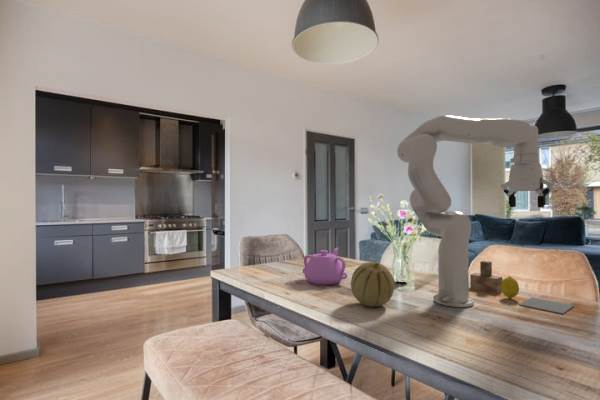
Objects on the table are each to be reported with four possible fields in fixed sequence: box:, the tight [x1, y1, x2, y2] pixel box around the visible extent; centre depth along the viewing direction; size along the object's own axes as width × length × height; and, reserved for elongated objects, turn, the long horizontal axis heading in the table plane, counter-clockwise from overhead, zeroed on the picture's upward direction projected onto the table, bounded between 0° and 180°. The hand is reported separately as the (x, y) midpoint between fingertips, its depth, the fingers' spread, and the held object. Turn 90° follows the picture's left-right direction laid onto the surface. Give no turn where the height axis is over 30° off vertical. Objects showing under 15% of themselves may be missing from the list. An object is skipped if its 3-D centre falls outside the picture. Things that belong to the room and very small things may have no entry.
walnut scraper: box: [469, 260, 503, 294], centre depth 137 cm, size 10×5×11 cm, turn 39°
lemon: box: [501, 275, 520, 299], centre depth 124 cm, size 6×6×8 cm
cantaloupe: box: [350, 261, 395, 308], centre depth 118 cm, size 15×15×15 cm
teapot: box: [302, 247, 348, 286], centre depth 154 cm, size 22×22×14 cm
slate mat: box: [518, 297, 574, 315], centre depth 116 cm, size 12×12×1 cm
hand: (526, 207), depth 127 cm, fingers open, 9 cm apart
